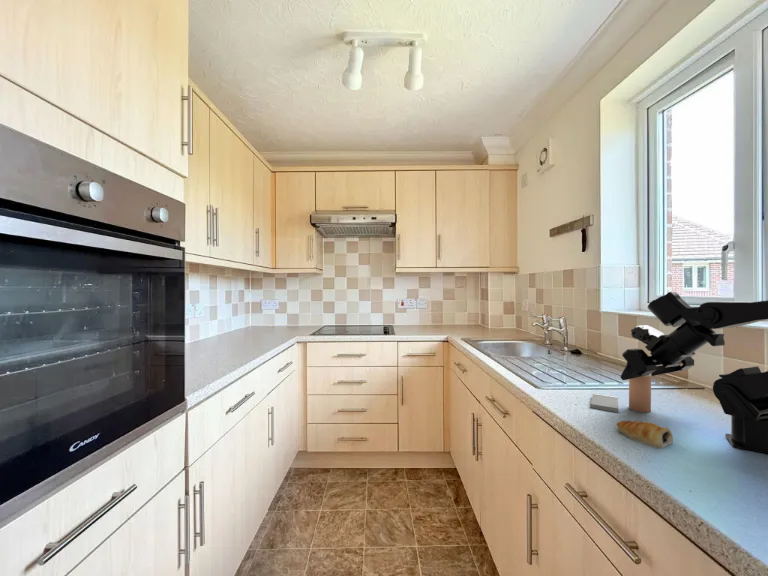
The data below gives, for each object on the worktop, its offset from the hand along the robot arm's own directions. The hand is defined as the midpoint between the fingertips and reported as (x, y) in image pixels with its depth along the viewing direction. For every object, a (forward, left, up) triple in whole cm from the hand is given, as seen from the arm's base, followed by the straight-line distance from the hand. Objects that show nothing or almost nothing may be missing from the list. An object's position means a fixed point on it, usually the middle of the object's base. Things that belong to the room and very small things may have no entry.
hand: (634, 377), depth 90 cm
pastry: (-22, -1, -9) cm, 23 cm away
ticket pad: (-2, +6, -8) cm, 10 cm away
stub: (-1, -1, -8) cm, 8 cm away
